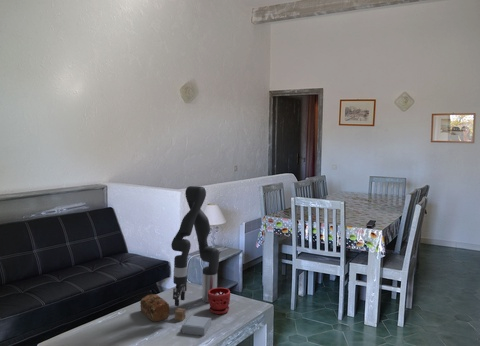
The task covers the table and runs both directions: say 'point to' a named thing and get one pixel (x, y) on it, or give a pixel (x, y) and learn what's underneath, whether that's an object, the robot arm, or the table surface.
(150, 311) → the bread
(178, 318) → the walnut cube
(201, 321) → the pedestal
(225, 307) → the plant pot
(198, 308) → the table surface
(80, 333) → the table surface
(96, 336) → the table surface
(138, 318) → the table surface
